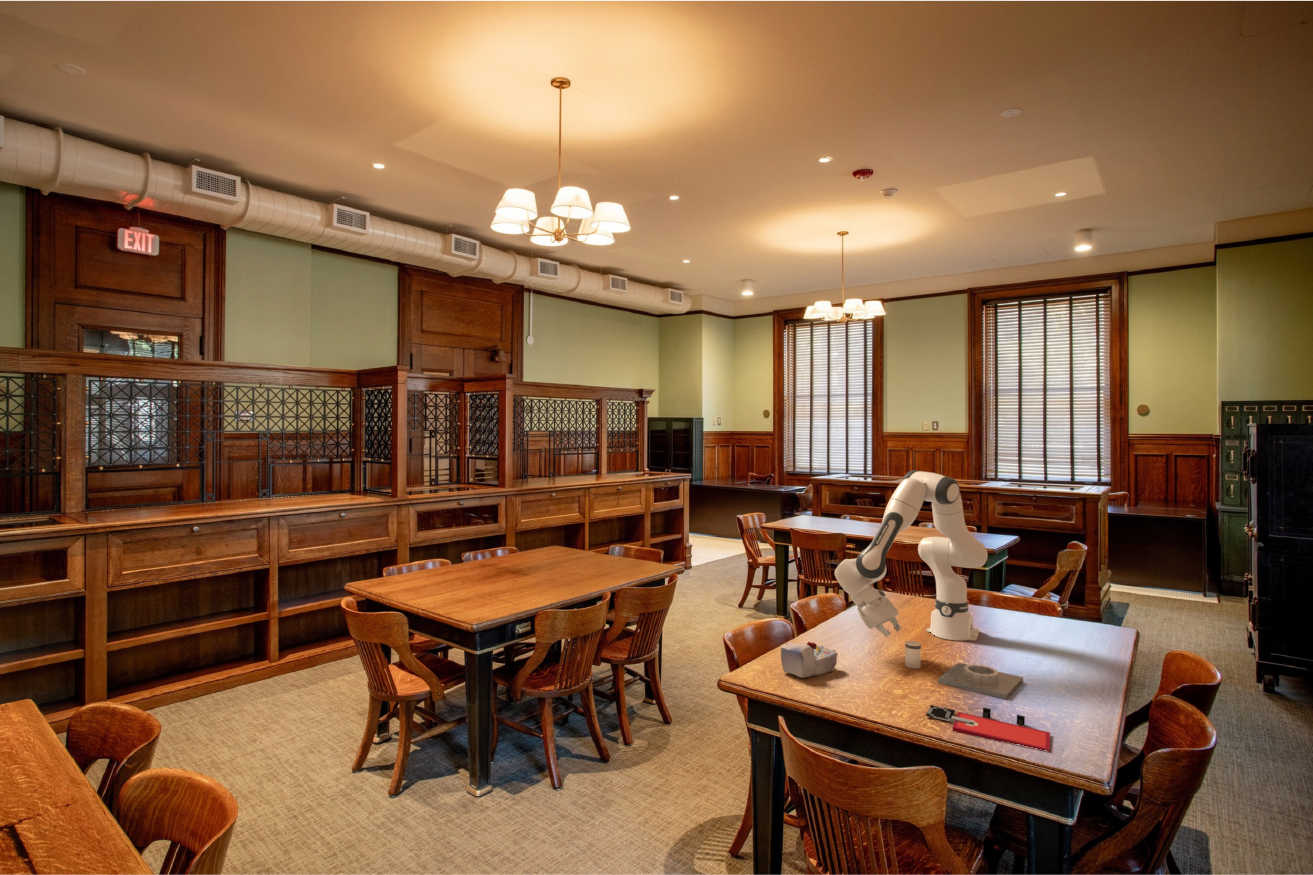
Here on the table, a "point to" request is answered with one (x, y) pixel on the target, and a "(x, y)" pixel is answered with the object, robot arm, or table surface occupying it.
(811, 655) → the cell model
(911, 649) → the banded peg cylinder
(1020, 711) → the table surface
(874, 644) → the table surface
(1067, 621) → the table surface
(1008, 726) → the red board with handle
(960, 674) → the ring mount
